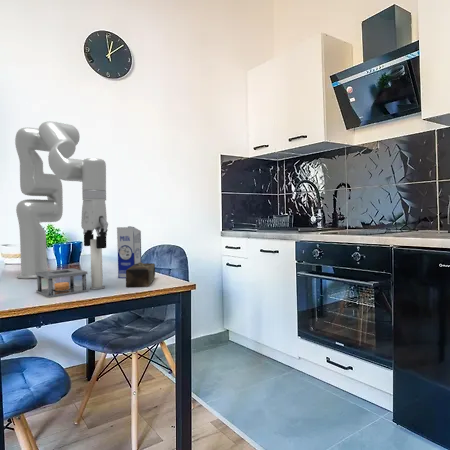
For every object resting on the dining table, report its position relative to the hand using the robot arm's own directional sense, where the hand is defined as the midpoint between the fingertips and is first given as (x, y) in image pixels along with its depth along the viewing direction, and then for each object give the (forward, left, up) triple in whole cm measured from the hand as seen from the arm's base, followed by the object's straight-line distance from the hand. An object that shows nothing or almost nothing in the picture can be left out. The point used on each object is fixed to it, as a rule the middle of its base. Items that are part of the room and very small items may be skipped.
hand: (94, 247), depth 127 cm
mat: (+1, 0, -14) cm, 14 cm away
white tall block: (+1, 0, -13) cm, 13 cm away
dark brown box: (+2, +16, -14) cm, 22 cm away
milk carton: (-12, +20, -14) cm, 27 cm away
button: (-2, -10, -13) cm, 17 cm away
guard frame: (-2, -10, -14) cm, 17 cm away
